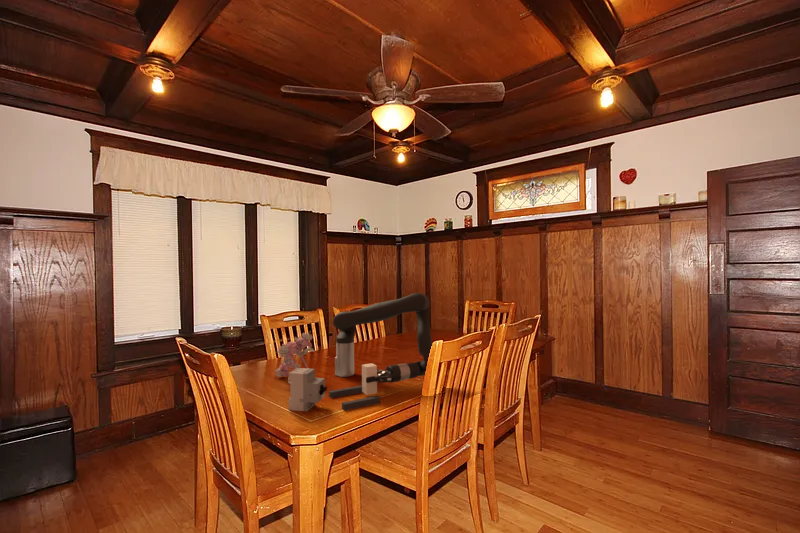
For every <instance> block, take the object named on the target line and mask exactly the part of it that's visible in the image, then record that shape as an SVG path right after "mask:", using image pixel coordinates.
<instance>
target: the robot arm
mask: <svg viewBox="0 0 800 533" xmlns="http://www.w3.org/2000/svg"><path fill="white" fill-rule="evenodd" d="M430 304H431V302H430V299H429V297H428V295H426V294H424V293H421V292H414V293H411V294H409V295H406V296H403V297H400V298H397V299H390V300H386V301H381V302H377V303H373V304H370V305H367V306H364V307H362V308H359V309H357V310H356V309H355V310H353V311H349V310H345V311H341V312H338V313H336V314H335V315H334V317H333V320H332V325H333V326H334V328H336V329H337V330H338V331H339V332H338V334H337V336H336V338H335V340H336V342H335V343H336V347H335V350H336V351H335V352H336V354H335V355H336V356H335V357H334V376H337V377H343V378H347V377H352V376H354V375H355V338H356V337H355V336H356V326H359V325H364V324H371V323H378V322H383V321H386V320H390V319H392V318H393V317H394V318H395V317H396V316H398V315H400V314H405V313H411V312H415V315H416V321H417V329H416V330H417V332H416V341H417V350H418V354H419V355H421V357H422V358H423V360H418V361H416V362H409V363H407V362H406V363H398V364H391V365H388V366H386V367H385V370H384V369H379V368H377V376H375V377H374V376H372V377H367V378H366V382H367V383H370V382H377V384H383V383H396V382H401V381H402V382H403V381H405V380H409V379H415V378H417V377H421V376H426V375H425V371H426V366H427V361H428V357H429V353H430V349H431V346H433V341H432V335H431V334H432V333H431V325H430V324H431V322H430ZM360 379H361V380H362V373H361V375H360Z"/></svg>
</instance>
